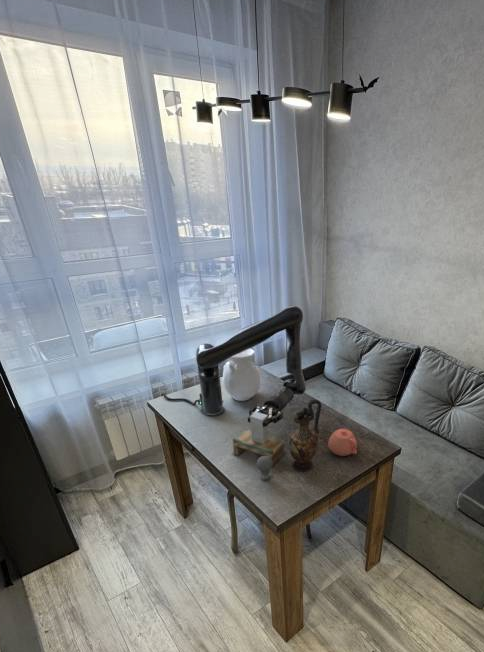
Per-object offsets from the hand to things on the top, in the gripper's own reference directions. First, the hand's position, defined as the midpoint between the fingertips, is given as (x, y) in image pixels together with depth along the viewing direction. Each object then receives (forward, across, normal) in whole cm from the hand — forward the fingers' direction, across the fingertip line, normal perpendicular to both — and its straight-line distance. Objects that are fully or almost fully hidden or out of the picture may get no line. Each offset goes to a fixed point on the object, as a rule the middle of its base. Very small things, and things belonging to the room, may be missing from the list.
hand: (256, 422), depth 155 cm
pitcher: (-38, -32, +16) cm, 53 cm away
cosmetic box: (-2, 0, +10) cm, 10 cm away
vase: (-2, +20, +16) cm, 26 cm away
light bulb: (+11, +10, +16) cm, 22 cm away
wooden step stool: (-1, 0, +16) cm, 16 cm away
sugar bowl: (-18, +31, +16) cm, 39 cm away
